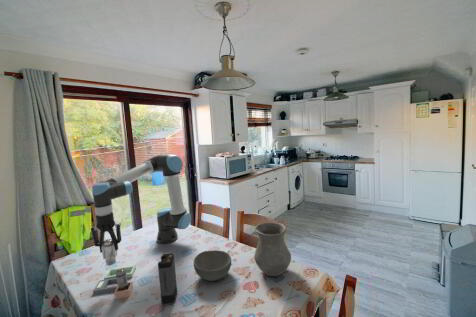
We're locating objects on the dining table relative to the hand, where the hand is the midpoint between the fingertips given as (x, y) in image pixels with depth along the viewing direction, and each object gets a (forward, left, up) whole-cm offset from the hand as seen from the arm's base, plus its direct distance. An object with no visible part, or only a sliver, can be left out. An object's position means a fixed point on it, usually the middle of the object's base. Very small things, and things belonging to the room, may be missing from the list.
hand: (110, 256), depth 115 cm
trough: (-1, -9, -17) cm, 19 cm away
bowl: (-52, +6, -17) cm, 55 cm away
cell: (0, 0, -3) cm, 3 cm away
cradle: (+2, 0, -17) cm, 17 cm away
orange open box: (-7, +8, -17) cm, 20 cm away
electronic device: (-30, +17, -17) cm, 38 cm away
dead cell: (-7, +8, -16) cm, 19 cm away
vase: (-84, +12, -17) cm, 86 cm away
